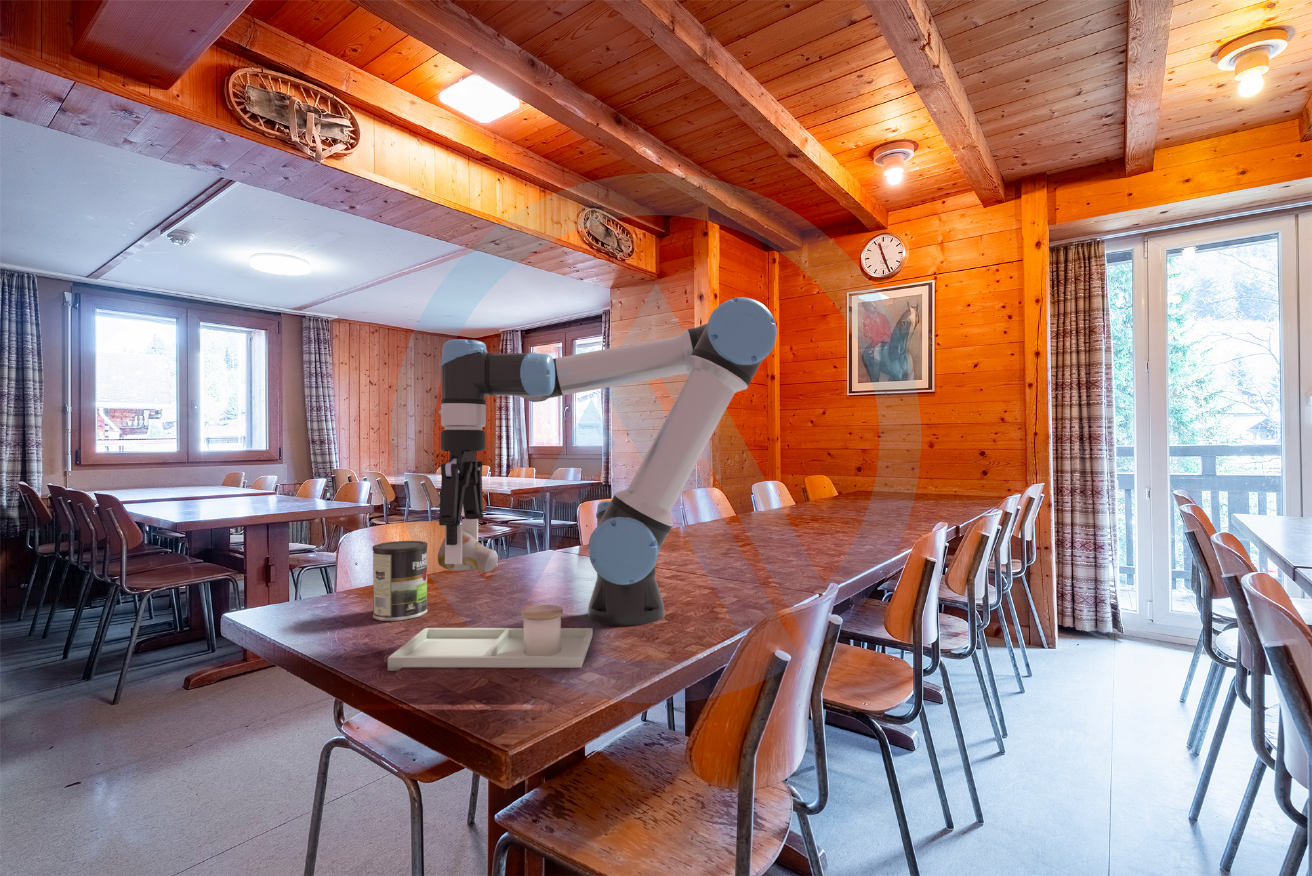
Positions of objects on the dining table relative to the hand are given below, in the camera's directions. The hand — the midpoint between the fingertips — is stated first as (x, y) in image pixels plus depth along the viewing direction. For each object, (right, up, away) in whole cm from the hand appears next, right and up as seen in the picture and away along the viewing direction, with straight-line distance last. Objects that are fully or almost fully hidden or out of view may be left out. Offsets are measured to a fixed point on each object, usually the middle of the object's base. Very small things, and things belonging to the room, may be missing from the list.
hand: (462, 558), depth 106 cm
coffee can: (-18, -15, +16) cm, 28 cm away
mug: (+1, -2, 0) cm, 3 cm away
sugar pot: (+15, -14, -7) cm, 22 cm away
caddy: (+8, -14, -7) cm, 18 cm away
